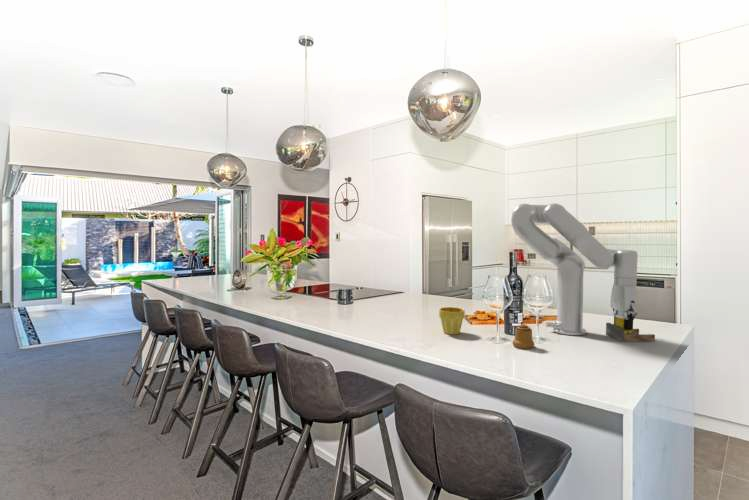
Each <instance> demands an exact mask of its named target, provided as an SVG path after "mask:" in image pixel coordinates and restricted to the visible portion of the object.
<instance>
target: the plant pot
mask: <svg viewBox="0 0 749 500" xmlns="http://www.w3.org/2000/svg"><path fill="white" fill-rule="evenodd" d="M465 313H466V310H465V309H464V308H462V307H458V306H457V307H454V306H446V307H441V308H439V310H438V316H439V318H440V321H441V322H440V323H441V325H442V332H443V334H446V335H453V336H454V335H459V334H460V333H461V328H462V325H463V320H464V319H465Z"/></svg>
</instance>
